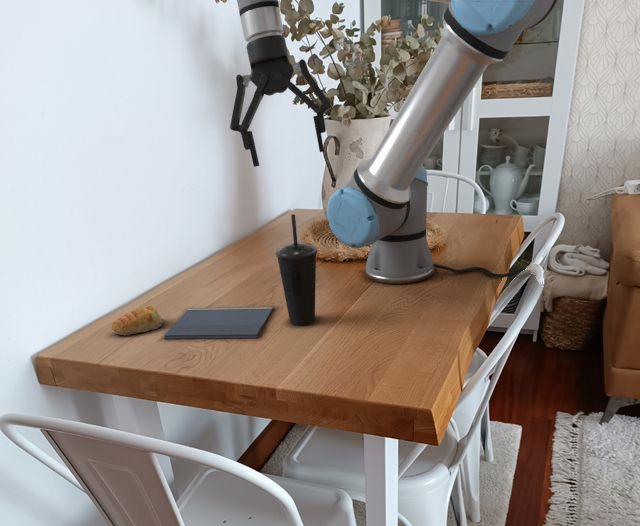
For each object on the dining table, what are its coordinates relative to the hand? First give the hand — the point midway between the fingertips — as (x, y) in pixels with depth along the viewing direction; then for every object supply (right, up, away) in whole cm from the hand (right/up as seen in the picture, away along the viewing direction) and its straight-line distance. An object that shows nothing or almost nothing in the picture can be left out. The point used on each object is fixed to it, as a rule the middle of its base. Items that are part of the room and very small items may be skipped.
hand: (289, 159), depth 125 cm
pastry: (-29, -35, -2) cm, 45 cm away
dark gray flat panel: (-13, -34, -3) cm, 36 cm away
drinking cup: (+3, -34, -5) cm, 35 cm away
